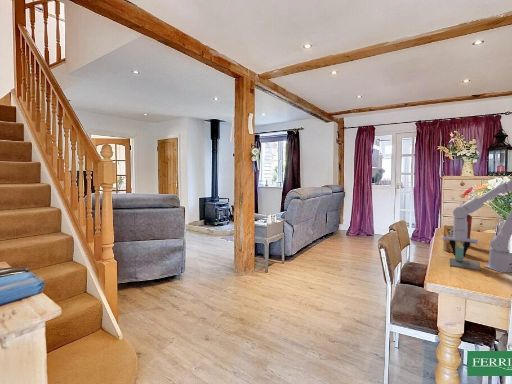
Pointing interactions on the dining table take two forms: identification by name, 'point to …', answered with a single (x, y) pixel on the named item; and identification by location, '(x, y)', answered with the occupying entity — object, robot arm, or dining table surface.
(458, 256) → the teal block
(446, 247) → the candy box
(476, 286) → the dining table surface
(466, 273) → the dining table surface
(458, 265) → the slate board
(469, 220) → the liquor
